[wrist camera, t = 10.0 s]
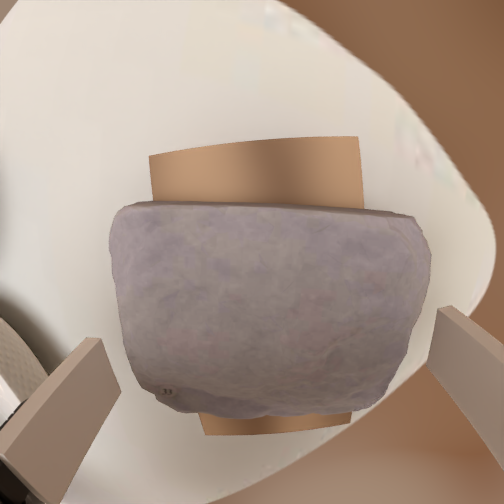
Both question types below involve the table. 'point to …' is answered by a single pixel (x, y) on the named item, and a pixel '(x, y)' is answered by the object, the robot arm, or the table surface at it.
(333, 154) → the walnut plinth
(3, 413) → the cereal bowl
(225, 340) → the stone block
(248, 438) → the table surface
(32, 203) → the table surface
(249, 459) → the table surface
